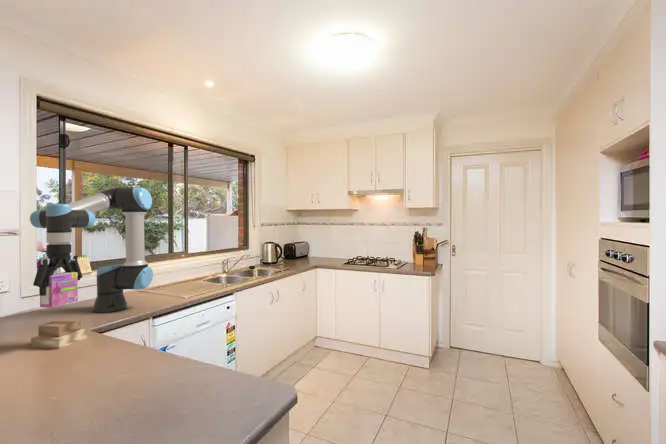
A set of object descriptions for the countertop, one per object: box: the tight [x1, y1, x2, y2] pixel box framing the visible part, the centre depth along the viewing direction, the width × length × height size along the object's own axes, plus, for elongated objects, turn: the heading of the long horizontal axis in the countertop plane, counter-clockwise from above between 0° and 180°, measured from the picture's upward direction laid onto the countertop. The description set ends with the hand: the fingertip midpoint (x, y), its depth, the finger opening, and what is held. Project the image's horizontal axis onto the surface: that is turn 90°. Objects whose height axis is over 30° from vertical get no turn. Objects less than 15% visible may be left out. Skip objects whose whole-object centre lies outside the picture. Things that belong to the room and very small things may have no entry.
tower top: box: [37, 318, 82, 337], centre depth 130 cm, size 9×9×4 cm
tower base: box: [30, 328, 88, 350], centre depth 130 cm, size 12×12×4 cm
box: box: [39, 271, 79, 309], centre depth 130 cm, size 10×6×12 cm, turn 169°
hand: (59, 300), depth 130 cm, fingers closed on box, 11 cm apart
